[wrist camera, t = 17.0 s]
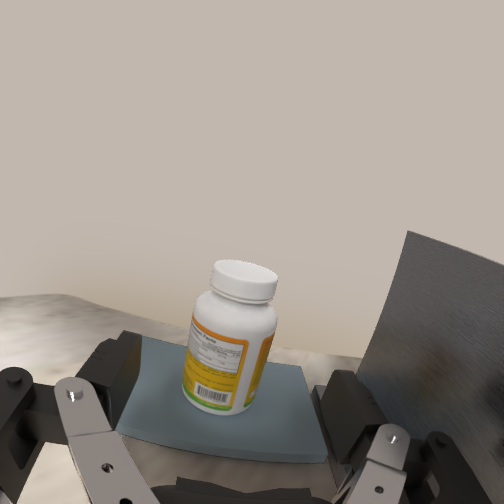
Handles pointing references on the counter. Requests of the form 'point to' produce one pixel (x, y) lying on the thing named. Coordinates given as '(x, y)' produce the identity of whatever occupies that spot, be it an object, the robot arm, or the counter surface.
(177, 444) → the mat
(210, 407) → the supplement bottle
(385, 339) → the mounted unit
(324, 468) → the counter surface
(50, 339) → the counter surface
